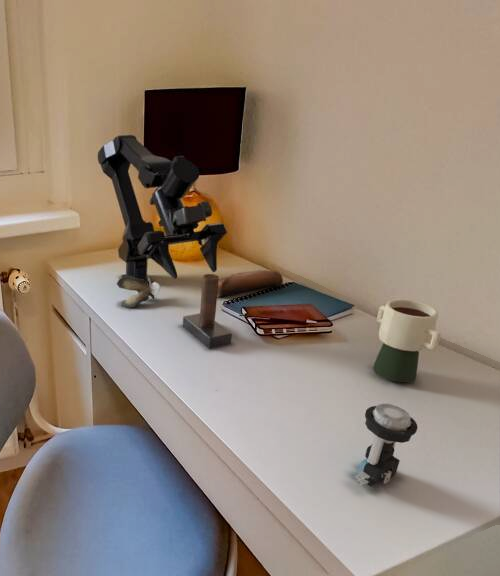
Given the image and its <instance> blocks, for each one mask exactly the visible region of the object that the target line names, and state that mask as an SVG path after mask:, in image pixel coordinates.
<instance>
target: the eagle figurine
mask: <svg viewBox="0 0 500 576" xmlns="http://www.w3.org/2000/svg"><path fill="white" fill-rule="evenodd" d="M148 277H149V278H148V280H149V282H148V283H147V282H146V281H145V280H144V279H138V278H135V277H133V276H125V277H120V278H119V279H118V280H117V282H116V285H117V287H118V288H119V289H123V290H127V291H136V293H135V294H134V295H131V296H130V297H128V298H127V299H124V300H122V301H121V302H120V306H121V307H123V308H134V307H136V306H138V305H140V304H141V303H144V302H147V301H148V300H149V299H150V297H151V299H152V300H155V296H157V295H158V294H159V292H160V291H161V286H160V284H159V283H158V282H156V281H154V280H153V279H152V278H151V276H148ZM150 278H151V279H152V280H151V279H150Z"/></svg>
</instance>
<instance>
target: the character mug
mask: <svg viewBox="0 0 500 576" xmlns="http://www.w3.org/2000/svg"><path fill="white" fill-rule="evenodd" d="M438 317H439V311H438V310H437V309H436V308H435V307H433V306H432V305H429V304H427V303H424V302H420V301H416V300H410V299H391V300H389V301H387V303H386V305H383V304H382V305H380V307H379V309H378V313H377V316H376V322H378V323H379V324H380V325H379V330H378V338H379V340H380V341H381V342H382V345H381V347H380V349H379V351H378V354H377V355H376V358H375V361H374V362H373V363H374V364H373V367H372V370H373V372H374V373H375V375H377V376H379V377H381V378H382V379H386V380H388V381H392V382H399V383H408V382H410V383H411V382H414V381H416V378H417V374H418V373H417V372H418V366H419V357H420V352H421V351H423V350H426V349H428V350H431V351H436V350H437V348H438V346H439V343H440V340H441V337H442V333H441V332H440V331H438V330H437V329H436V327H437V320H438Z"/></svg>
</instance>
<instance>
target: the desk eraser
mask: <svg viewBox="0 0 500 576" xmlns="http://www.w3.org/2000/svg"><path fill="white" fill-rule="evenodd" d="M219 279H220V276H219V275H217V274H213V273H206V274H204V275H202V285H201V294H200V295H201V296H200V308H199V309H200V310H199V312H198V313H194V314H188V315H183V317H182V327H183V329H185V331H187V332H188V333H189V334H190V335H192V336H193V337H194V338H196V339H197V340H198V341H199V342H200V343H201V344H203V345H204V346H205V347H206V348H207V349H209V350H211V349H215V348H219V347H225V346H229V345H232V337H233V333H232V332H231V331H230V330H228V329H227V328H225V327H224V326H223V325H222V324H220V323H219V322H217V321H216V312H217V302H218V297H217V292H218V281H219Z"/></svg>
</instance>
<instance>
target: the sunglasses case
mask: <svg viewBox="0 0 500 576" xmlns="http://www.w3.org/2000/svg"><path fill="white" fill-rule="evenodd" d="M283 282H284V280H283V276H282V274H281V273H280V272H279V271H276V270H265V269H264V270H263V269H261V270H250V271H245V272H244V271H243V272H237V273H232V274H230V275H228V276H225V277H220V278H219V281H218V292H217V298H220V297H222V296H228V295H231V294H235V293H236V294H237V293H240V292H243V291H249V290H254V289H260V288H266V287H267V288H268V287H271V286H279V287H280V286H282V285H283Z"/></svg>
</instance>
